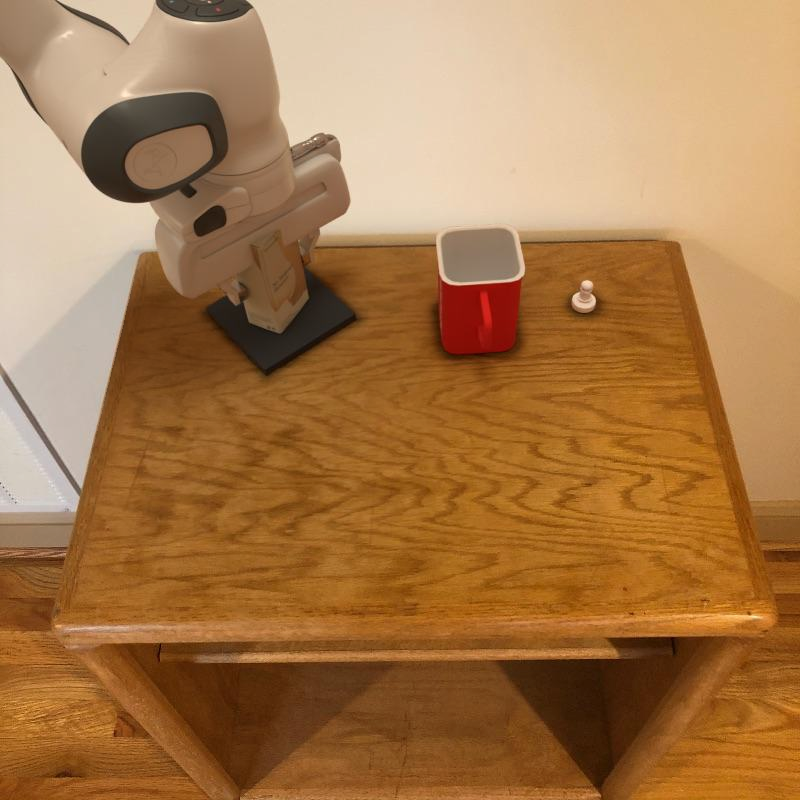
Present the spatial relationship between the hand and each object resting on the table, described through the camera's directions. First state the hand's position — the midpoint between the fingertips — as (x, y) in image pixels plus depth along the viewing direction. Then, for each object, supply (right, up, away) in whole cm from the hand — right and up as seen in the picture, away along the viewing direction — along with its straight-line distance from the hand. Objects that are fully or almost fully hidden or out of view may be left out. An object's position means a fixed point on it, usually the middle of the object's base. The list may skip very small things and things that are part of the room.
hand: (272, 280), depth 83 cm
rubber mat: (0, -3, +5) cm, 6 cm away
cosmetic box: (0, -3, +4) cm, 5 cm away
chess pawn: (+34, -2, +4) cm, 34 cm away
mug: (+22, -6, +1) cm, 23 cm away
